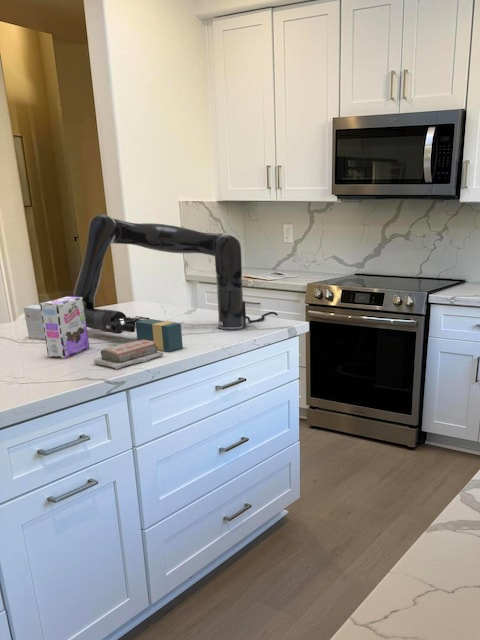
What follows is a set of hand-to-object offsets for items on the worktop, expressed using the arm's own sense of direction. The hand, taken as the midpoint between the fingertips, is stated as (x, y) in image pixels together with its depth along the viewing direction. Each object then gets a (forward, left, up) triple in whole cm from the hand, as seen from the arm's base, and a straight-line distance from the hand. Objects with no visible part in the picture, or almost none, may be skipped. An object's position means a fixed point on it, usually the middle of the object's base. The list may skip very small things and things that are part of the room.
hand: (144, 326), depth 198 cm
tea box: (-2, +6, -2) cm, 7 cm away
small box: (+25, -30, -6) cm, 39 cm away
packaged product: (+12, +17, -6) cm, 21 cm away
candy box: (+24, -3, -6) cm, 25 cm away
